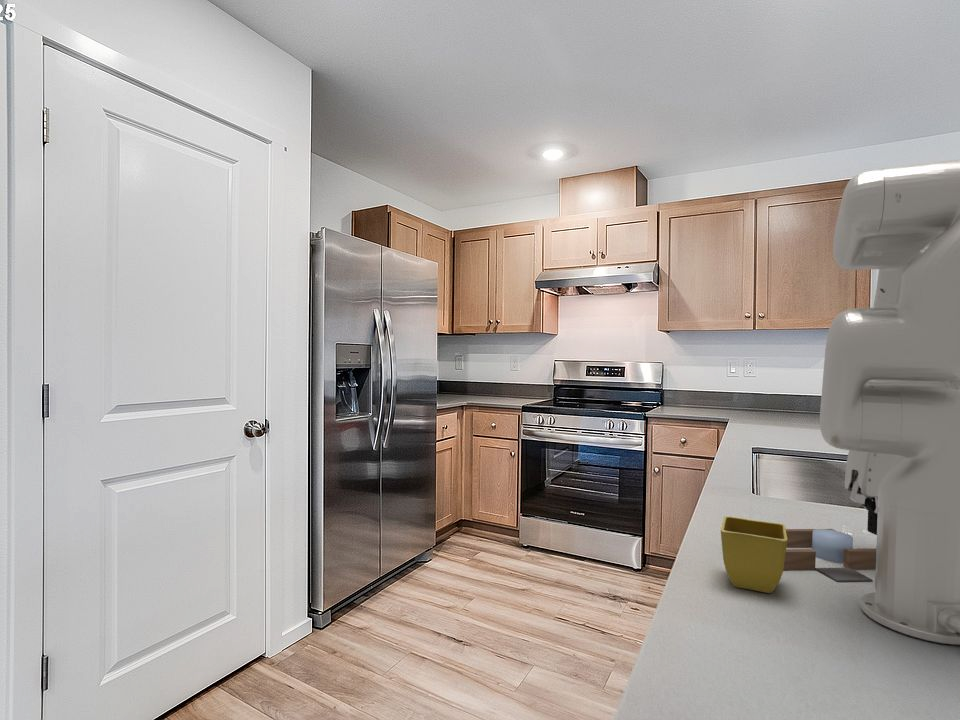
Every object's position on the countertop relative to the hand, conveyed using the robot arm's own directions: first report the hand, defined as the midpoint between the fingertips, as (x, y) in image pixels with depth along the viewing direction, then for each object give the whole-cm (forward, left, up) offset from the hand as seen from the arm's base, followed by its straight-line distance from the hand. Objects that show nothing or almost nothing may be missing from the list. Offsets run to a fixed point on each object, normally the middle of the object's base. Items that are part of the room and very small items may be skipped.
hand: (878, 533), depth 97 cm
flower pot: (-12, +31, -4) cm, 34 cm away
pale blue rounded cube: (-1, +9, -4) cm, 10 cm away
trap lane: (-1, +15, -4) cm, 15 cm away
